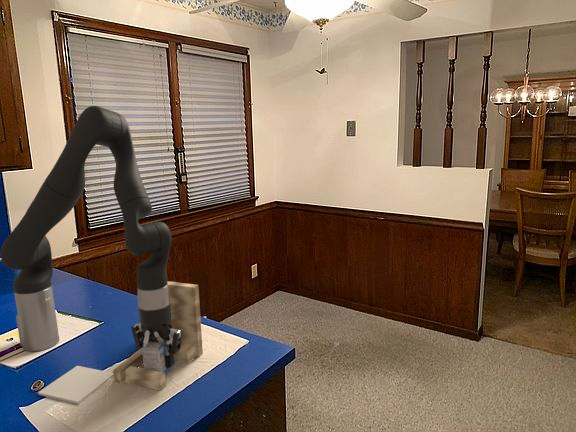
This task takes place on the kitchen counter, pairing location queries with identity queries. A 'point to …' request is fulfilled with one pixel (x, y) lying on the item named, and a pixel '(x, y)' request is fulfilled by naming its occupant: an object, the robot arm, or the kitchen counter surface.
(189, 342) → the slotted stand
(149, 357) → the medicine box
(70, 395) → the grey mat
